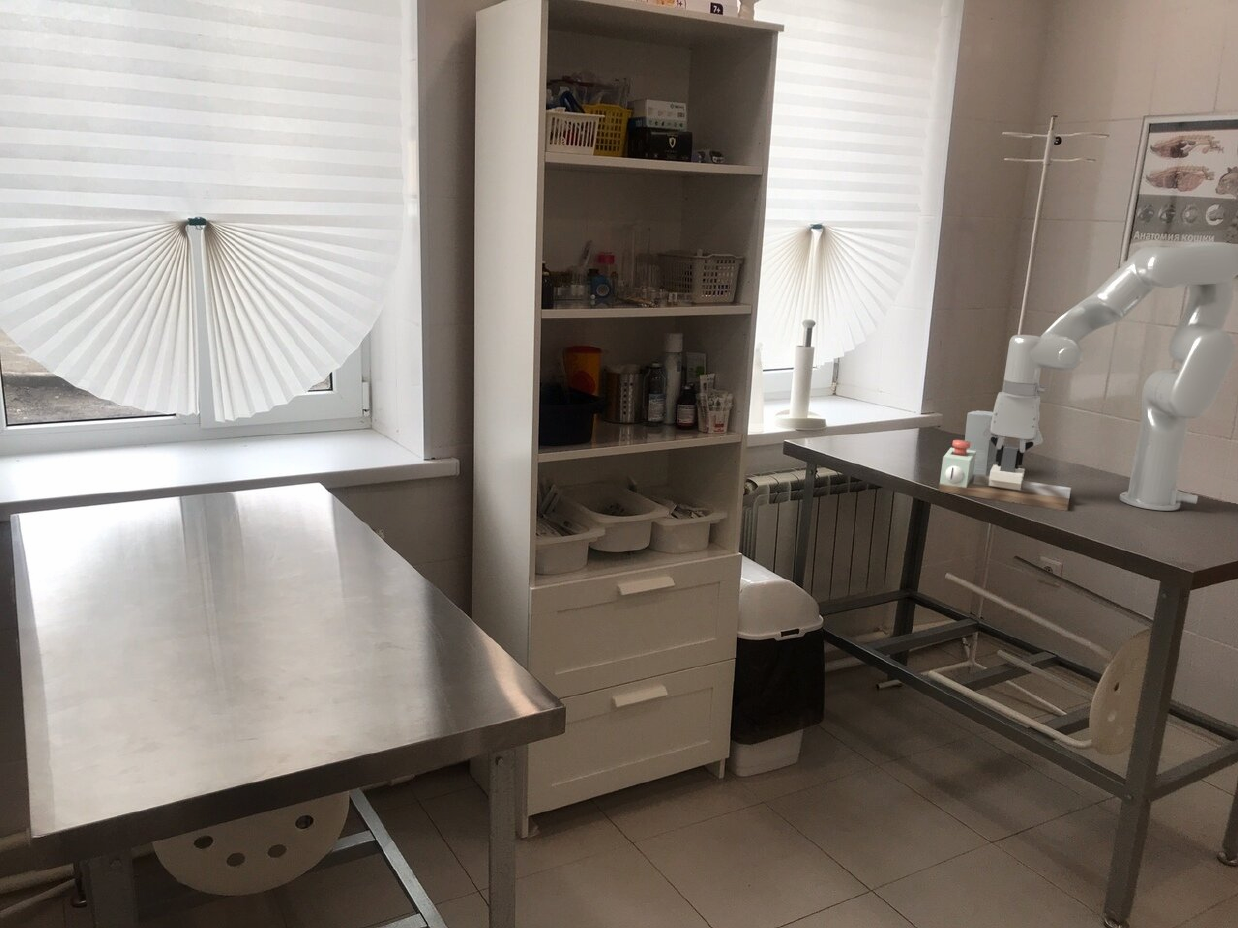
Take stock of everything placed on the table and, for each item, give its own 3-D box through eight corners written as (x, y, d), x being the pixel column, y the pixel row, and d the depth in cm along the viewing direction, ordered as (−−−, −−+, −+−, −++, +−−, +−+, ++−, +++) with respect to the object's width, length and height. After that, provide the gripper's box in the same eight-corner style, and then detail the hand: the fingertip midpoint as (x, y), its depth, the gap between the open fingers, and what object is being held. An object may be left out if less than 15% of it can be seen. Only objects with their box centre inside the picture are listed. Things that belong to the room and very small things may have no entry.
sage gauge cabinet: (972, 476, 242) (976, 451, 240) (965, 488, 231) (969, 461, 229) (947, 473, 244) (950, 447, 243) (939, 484, 233) (943, 457, 232)
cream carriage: (1022, 484, 235) (1028, 445, 233) (1019, 491, 228) (1025, 452, 226) (991, 479, 238) (997, 441, 236) (987, 486, 231) (993, 447, 229)
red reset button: (969, 454, 237) (971, 441, 236) (967, 457, 234) (969, 444, 233) (952, 451, 239) (954, 439, 238) (950, 455, 235) (951, 442, 235)
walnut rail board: (1069, 496, 234) (1071, 482, 233) (1067, 510, 222) (1069, 495, 221) (946, 478, 246) (948, 464, 245) (938, 490, 233) (940, 476, 232)
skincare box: (986, 478, 247) (995, 416, 244) (957, 472, 252) (966, 411, 248) (996, 472, 254) (1005, 412, 250) (968, 467, 258) (977, 407, 254)
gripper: (1059, 391, 228) (1046, 468, 232) (984, 383, 234) (973, 458, 239) (1057, 395, 221) (1044, 475, 225) (980, 387, 228) (969, 464, 232)
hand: (1008, 465), depth 232 cm, fingers closed on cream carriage, 3 cm apart
